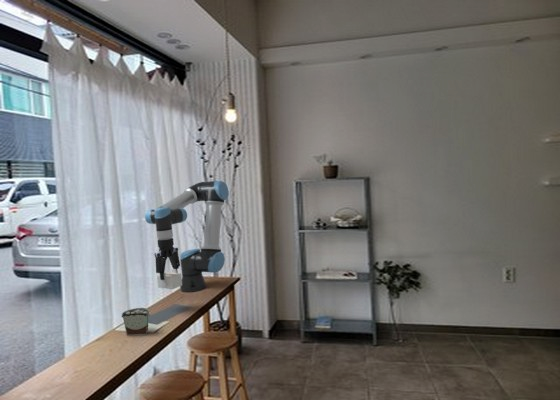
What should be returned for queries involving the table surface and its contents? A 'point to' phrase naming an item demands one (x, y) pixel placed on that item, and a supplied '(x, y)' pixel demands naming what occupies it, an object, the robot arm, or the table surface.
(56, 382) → the table surface
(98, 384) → the table surface
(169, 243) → the robot arm
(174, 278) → the white rectangular block
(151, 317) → the mat
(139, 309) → the food container
